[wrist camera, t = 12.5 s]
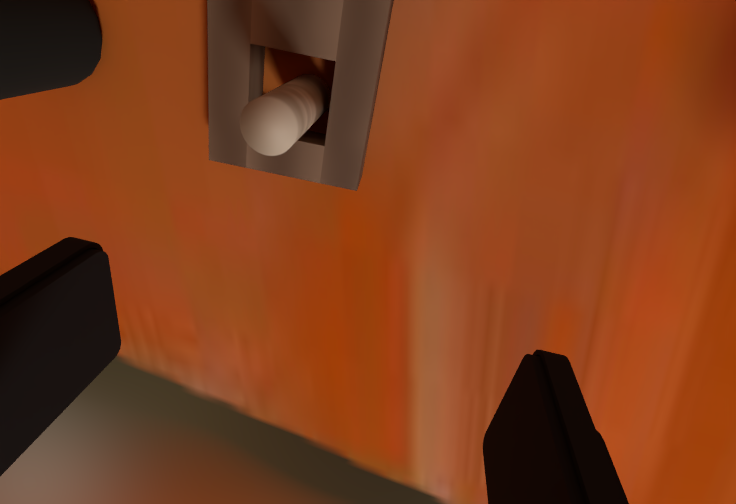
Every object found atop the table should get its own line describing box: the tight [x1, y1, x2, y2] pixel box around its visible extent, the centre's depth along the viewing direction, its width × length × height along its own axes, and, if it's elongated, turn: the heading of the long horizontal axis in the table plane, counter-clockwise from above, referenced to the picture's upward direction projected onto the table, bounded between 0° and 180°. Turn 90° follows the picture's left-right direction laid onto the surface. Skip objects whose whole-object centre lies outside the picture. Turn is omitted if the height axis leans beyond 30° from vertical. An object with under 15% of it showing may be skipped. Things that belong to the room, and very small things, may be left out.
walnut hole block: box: [207, 0, 394, 191], centre depth 27 cm, size 11×21×3 cm, turn 170°
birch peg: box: [240, 74, 330, 156], centre depth 26 cm, size 3×3×10 cm
